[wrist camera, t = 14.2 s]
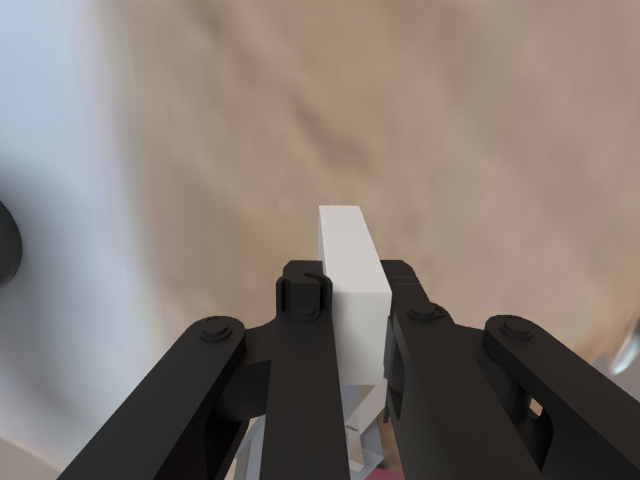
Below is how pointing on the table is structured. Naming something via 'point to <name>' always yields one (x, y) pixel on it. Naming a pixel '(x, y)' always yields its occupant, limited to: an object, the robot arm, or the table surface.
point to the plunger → (362, 418)
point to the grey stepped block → (253, 442)
